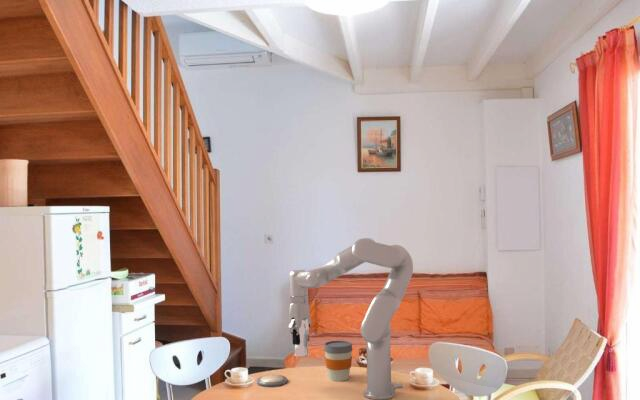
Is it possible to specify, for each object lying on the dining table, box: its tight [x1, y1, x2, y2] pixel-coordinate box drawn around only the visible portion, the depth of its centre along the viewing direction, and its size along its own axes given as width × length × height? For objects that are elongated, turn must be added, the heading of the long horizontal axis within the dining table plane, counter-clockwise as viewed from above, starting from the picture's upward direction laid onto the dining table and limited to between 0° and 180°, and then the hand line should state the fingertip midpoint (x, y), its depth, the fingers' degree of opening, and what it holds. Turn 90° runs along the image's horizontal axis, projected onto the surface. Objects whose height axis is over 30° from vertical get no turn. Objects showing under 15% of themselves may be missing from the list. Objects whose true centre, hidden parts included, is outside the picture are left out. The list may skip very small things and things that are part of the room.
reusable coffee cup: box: [323, 340, 353, 382], centre depth 219 cm, size 13×13×15 cm
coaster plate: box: [256, 374, 288, 388], centre depth 215 cm, size 13×13×2 cm
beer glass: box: [294, 318, 310, 358], centre depth 208 cm, size 7×7×15 cm
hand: (301, 342), depth 208 cm, fingers closed on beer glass, 6 cm apart
